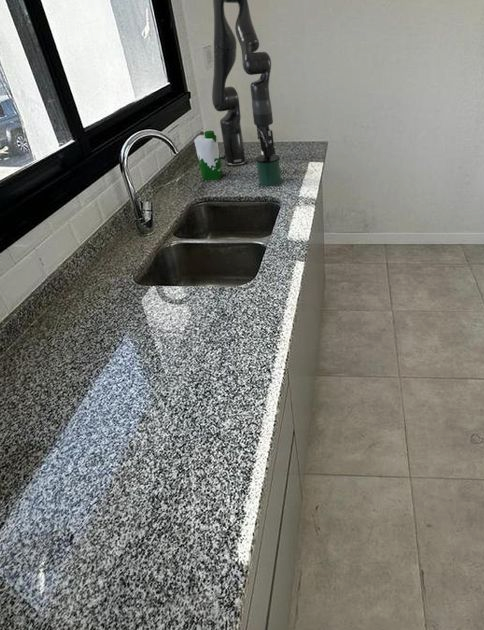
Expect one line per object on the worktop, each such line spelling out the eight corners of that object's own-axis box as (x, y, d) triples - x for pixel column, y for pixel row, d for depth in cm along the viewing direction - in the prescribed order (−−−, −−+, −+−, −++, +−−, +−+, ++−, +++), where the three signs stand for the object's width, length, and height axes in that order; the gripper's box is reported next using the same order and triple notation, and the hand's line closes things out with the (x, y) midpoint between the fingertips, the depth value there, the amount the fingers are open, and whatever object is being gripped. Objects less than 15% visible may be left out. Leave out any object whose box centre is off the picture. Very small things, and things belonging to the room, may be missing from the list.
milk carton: (220, 181, 193) (211, 134, 181) (200, 182, 194) (190, 135, 182) (225, 175, 200) (217, 129, 188) (205, 175, 201) (196, 129, 189)
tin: (257, 182, 191) (254, 157, 185) (277, 178, 194) (274, 154, 188) (263, 189, 184) (260, 164, 178) (284, 185, 187) (281, 160, 181)
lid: (253, 159, 185) (251, 144, 182) (275, 155, 188) (273, 140, 185) (260, 165, 178) (258, 150, 174) (283, 161, 181) (281, 146, 177)
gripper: (277, 113, 167) (281, 156, 177) (265, 106, 178) (270, 147, 188) (258, 116, 165) (263, 159, 175) (248, 108, 176) (253, 150, 186)
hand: (267, 153), depth 181 cm, fingers open, 7 cm apart
